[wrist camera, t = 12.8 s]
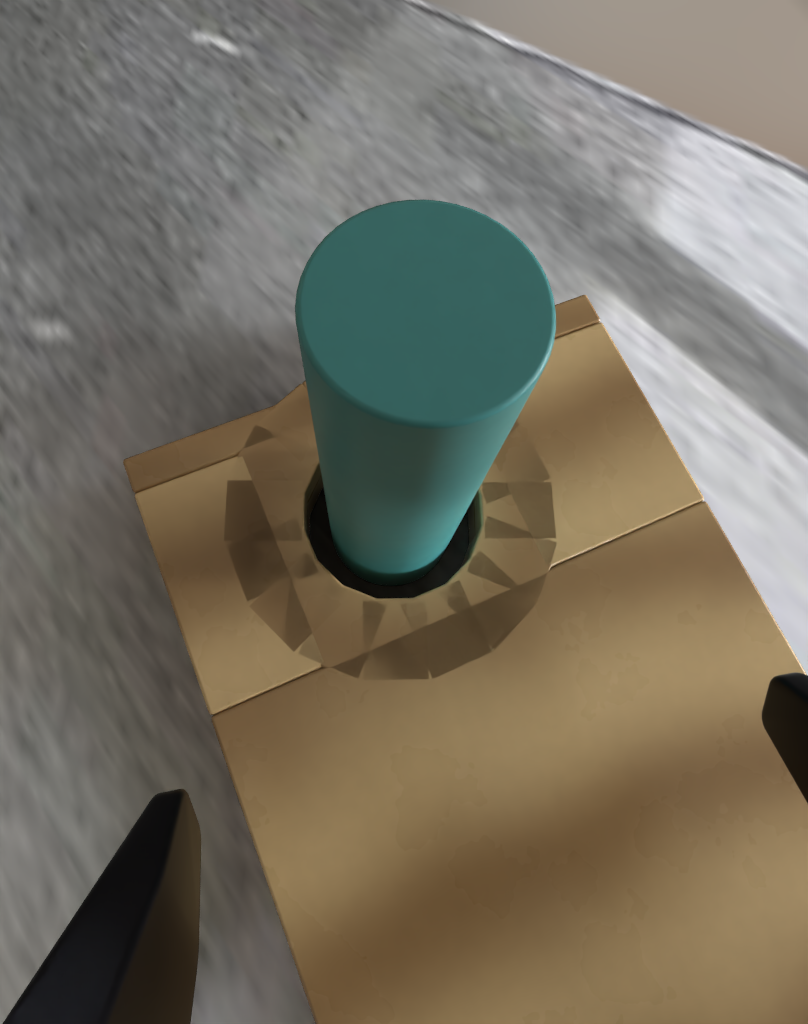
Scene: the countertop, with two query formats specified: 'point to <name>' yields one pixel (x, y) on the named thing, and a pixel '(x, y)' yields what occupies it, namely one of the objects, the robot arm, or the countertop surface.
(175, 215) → the countertop surface
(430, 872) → the board
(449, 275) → the peg
